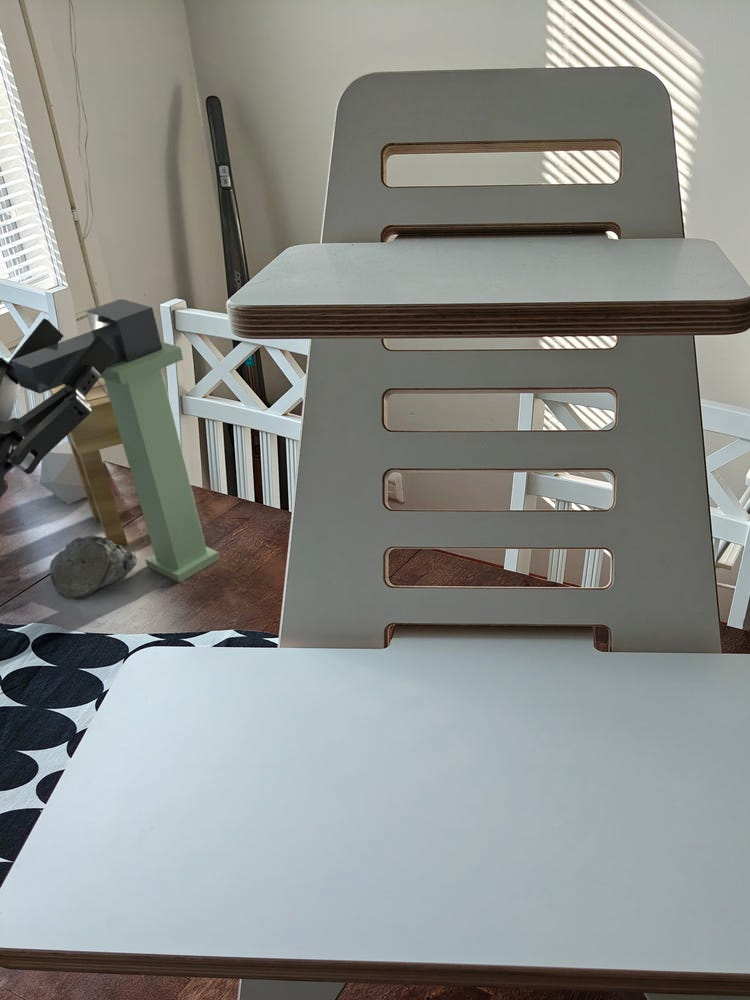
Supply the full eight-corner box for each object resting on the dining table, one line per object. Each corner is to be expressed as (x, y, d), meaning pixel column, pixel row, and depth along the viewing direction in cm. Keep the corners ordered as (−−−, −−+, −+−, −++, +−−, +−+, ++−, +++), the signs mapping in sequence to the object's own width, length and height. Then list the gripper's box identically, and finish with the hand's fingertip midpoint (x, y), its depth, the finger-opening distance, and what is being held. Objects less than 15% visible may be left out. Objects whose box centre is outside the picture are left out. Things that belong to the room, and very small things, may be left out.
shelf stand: (178, 588, 130) (118, 372, 112) (136, 567, 134) (72, 356, 116) (230, 558, 135) (180, 347, 117) (188, 538, 140) (134, 333, 122)
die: (94, 478, 157) (39, 440, 151) (125, 462, 152) (69, 421, 146) (73, 520, 153) (16, 482, 147) (104, 504, 148) (46, 464, 141)
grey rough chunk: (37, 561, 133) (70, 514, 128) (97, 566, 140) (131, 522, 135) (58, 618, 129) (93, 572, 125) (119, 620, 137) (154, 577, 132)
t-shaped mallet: (132, 339, 120) (121, 298, 117) (162, 348, 117) (152, 307, 114) (14, 384, 110) (-1, 340, 107) (44, 395, 107) (30, 351, 104)
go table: (90, 515, 147) (46, 381, 134) (169, 493, 151) (133, 361, 138) (109, 551, 138) (64, 412, 125) (192, 526, 143) (157, 389, 130)
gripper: (-68, 484, 115) (47, 339, 120) (39, 540, 104) (161, 378, 109) (-123, 446, 109) (1, 294, 114) (-15, 501, 97) (118, 331, 102)
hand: (80, 335), depth 111 cm, fingers open, 10 cm apart
